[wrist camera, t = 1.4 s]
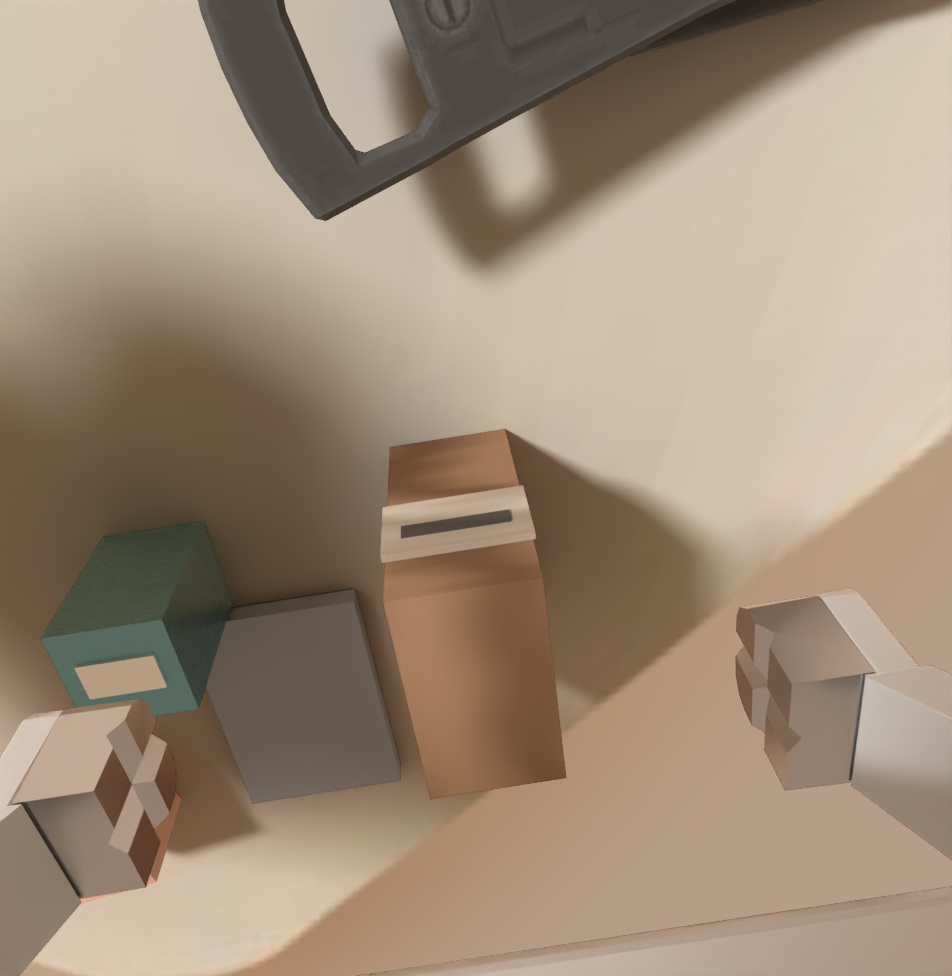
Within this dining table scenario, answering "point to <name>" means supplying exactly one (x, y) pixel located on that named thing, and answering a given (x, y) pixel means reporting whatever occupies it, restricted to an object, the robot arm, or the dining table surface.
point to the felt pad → (302, 698)
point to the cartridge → (142, 621)
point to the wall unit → (469, 616)
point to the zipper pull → (440, 75)
